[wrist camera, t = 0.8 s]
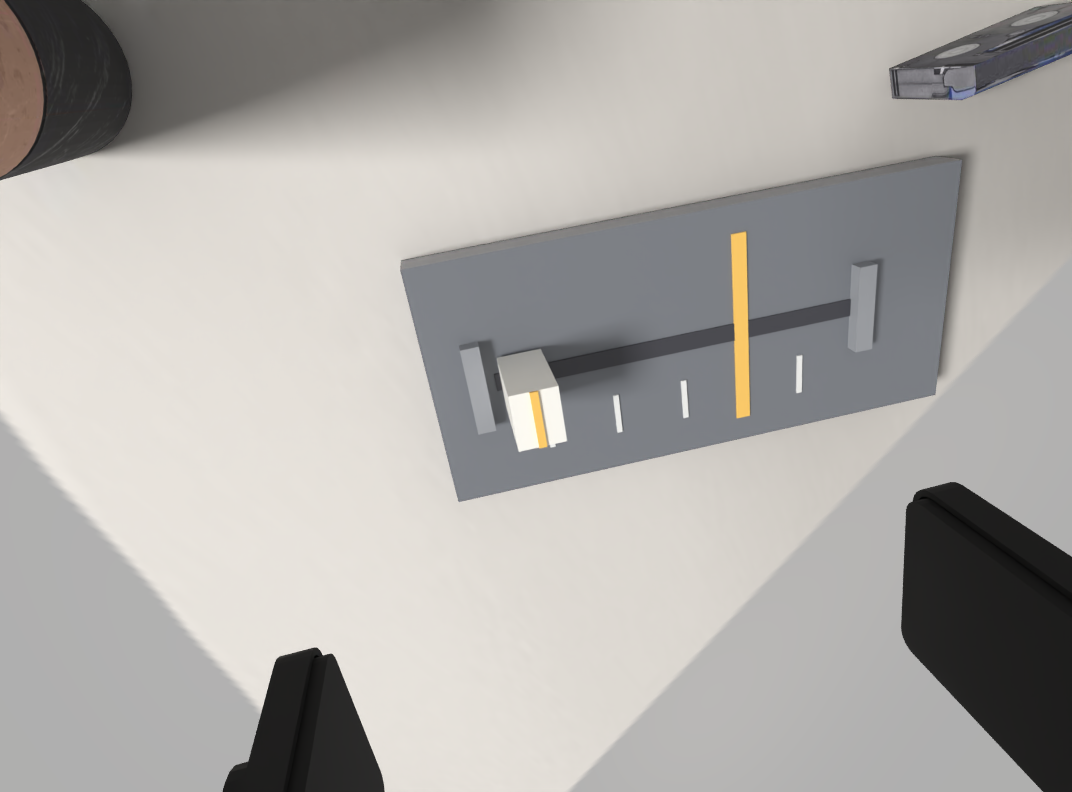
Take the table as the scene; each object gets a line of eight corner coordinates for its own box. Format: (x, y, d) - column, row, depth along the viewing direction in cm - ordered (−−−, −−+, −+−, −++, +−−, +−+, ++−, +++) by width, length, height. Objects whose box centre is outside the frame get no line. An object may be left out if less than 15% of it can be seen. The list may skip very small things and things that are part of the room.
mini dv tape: (891, 98, 36) (975, 100, 30) (887, 68, 35) (973, 66, 30) (1034, 38, 36) (1145, 29, 30) (1034, 7, 35) (1147, -8, 30)
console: (401, 260, 35) (399, 273, 32) (935, 156, 37) (973, 160, 35) (456, 484, 41) (459, 509, 38) (913, 382, 43) (944, 400, 41)
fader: (496, 357, 36) (508, 397, 31) (540, 348, 36) (558, 386, 31) (506, 407, 37) (519, 452, 32) (549, 398, 37) (567, 442, 32)
